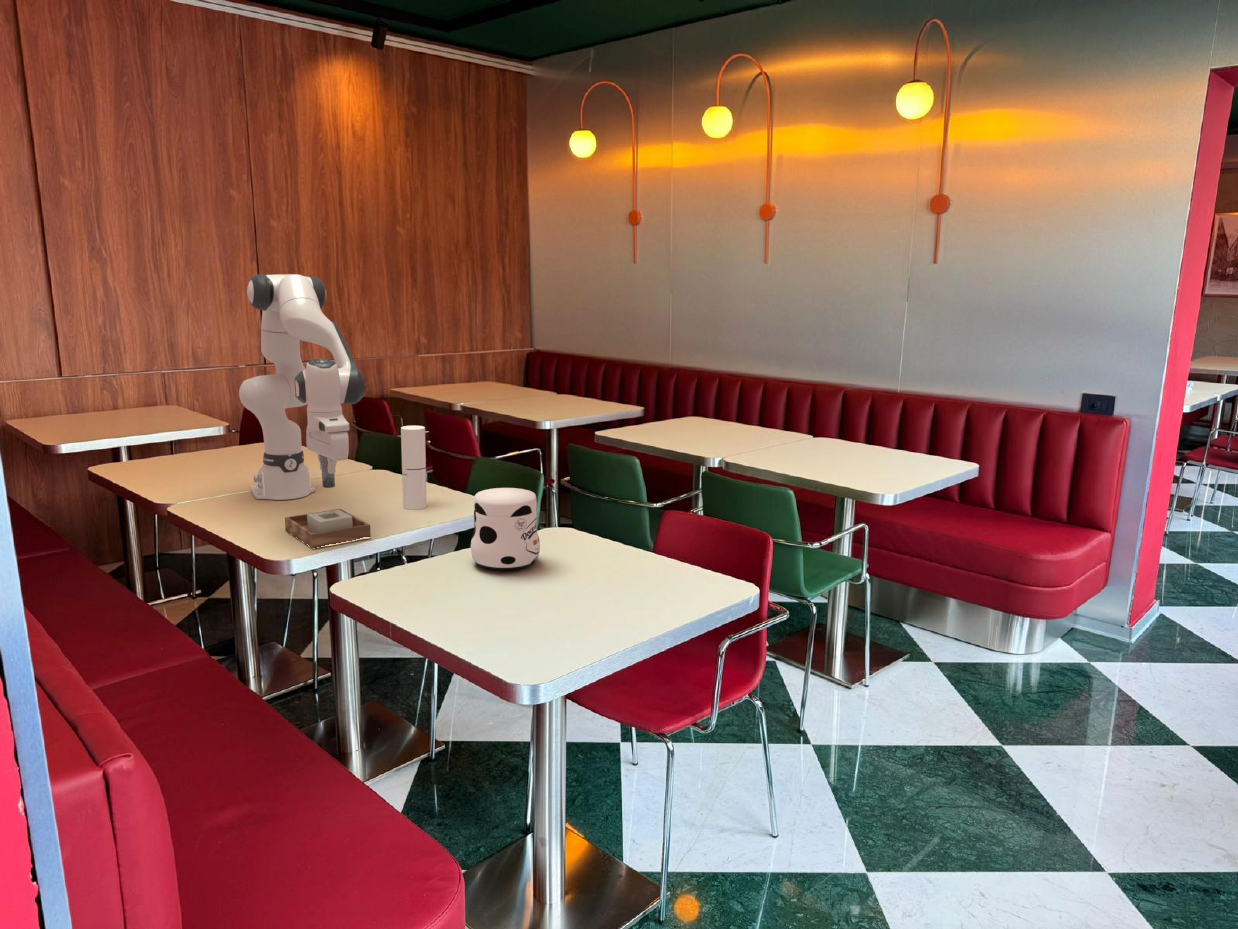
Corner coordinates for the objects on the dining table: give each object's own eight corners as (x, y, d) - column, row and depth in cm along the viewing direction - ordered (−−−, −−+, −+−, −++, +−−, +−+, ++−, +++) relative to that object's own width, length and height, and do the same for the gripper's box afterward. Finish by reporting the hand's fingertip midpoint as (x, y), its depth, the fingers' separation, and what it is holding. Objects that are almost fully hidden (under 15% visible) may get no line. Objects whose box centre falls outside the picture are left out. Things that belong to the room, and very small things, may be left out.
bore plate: (307, 532, 238) (306, 514, 236) (339, 526, 243) (338, 509, 242) (320, 540, 231) (319, 522, 230) (352, 534, 237) (352, 516, 235)
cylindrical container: (420, 510, 265) (418, 430, 260) (399, 508, 267) (396, 428, 261) (430, 504, 272) (428, 426, 267) (409, 503, 273) (407, 424, 268)
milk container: (550, 570, 216) (550, 500, 212) (483, 579, 208) (482, 507, 204) (525, 549, 231) (526, 484, 227) (462, 557, 223) (461, 490, 219)
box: (285, 531, 241) (284, 517, 240) (341, 521, 251) (340, 508, 250) (312, 549, 226) (312, 534, 225) (370, 538, 236) (370, 524, 236)
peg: (320, 486, 234) (318, 446, 232) (332, 484, 236) (330, 444, 234) (325, 488, 232) (323, 448, 230) (336, 486, 234) (334, 446, 232)
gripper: (298, 416, 236) (301, 466, 239) (328, 427, 221) (331, 480, 224) (321, 414, 240) (324, 463, 243) (352, 425, 225) (354, 477, 228)
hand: (327, 471), depth 233 cm, fingers closed on peg, 3 cm apart
